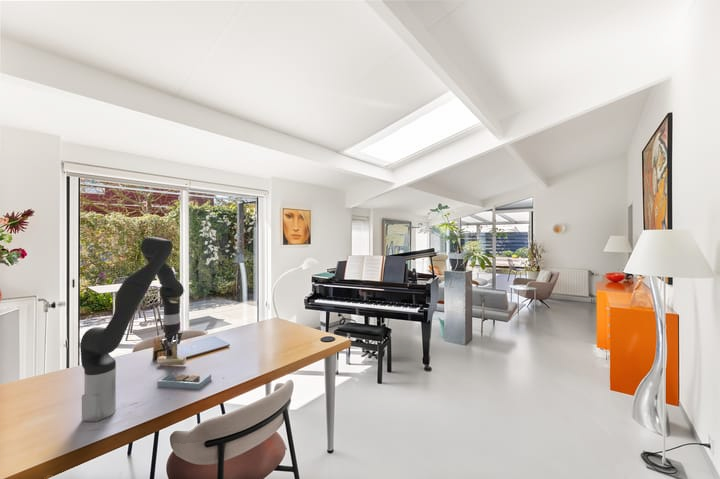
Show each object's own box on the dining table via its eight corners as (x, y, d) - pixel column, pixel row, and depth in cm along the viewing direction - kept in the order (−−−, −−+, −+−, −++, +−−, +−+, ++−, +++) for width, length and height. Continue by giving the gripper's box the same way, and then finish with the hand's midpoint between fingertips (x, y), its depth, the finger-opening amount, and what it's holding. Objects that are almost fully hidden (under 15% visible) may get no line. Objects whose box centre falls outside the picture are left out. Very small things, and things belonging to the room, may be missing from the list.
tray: (198, 389, 140) (199, 383, 140) (157, 386, 142) (157, 380, 142) (211, 379, 149) (211, 374, 149) (172, 376, 151) (172, 371, 151)
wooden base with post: (182, 365, 161) (182, 346, 161) (157, 363, 163) (157, 344, 163) (186, 362, 164) (186, 344, 164) (161, 361, 166) (161, 342, 166)
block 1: (181, 385, 144) (181, 380, 143) (173, 384, 144) (173, 379, 144) (189, 380, 148) (189, 375, 148) (181, 379, 149) (181, 374, 149)
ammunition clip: (153, 360, 170) (153, 338, 170) (152, 359, 171) (152, 338, 171) (175, 355, 178) (175, 334, 178) (174, 354, 179) (174, 333, 179)
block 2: (191, 386, 143) (191, 380, 143) (184, 385, 144) (184, 379, 144) (199, 381, 148) (199, 376, 148) (192, 380, 149) (192, 375, 149)
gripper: (168, 326, 156) (168, 360, 156) (187, 318, 170) (187, 350, 170) (154, 325, 157) (154, 359, 157) (174, 318, 171) (174, 349, 171)
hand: (171, 354), depth 164 cm, fingers closed on wooden base with post, 3 cm apart
